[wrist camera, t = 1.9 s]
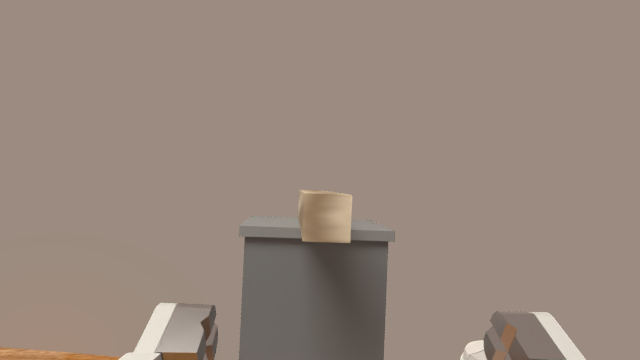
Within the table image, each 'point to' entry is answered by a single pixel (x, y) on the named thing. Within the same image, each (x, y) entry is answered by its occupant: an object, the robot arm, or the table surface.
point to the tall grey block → (313, 292)
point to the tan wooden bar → (325, 216)
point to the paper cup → (474, 351)
